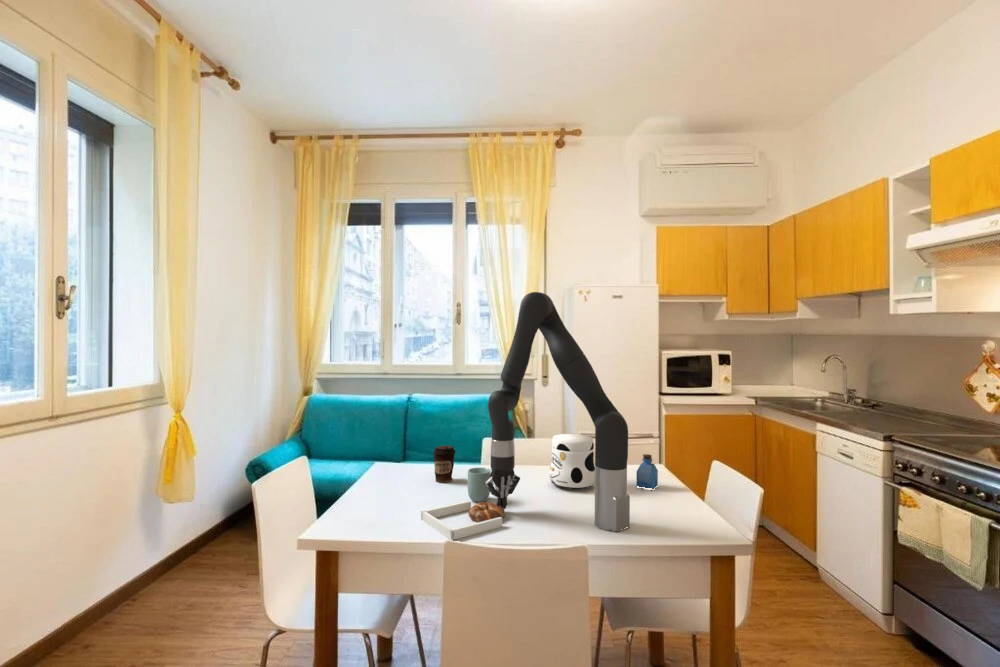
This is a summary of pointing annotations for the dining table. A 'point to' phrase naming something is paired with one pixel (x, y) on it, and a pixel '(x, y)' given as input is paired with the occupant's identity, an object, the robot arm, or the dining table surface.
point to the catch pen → (460, 532)
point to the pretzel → (485, 511)
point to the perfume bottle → (647, 473)
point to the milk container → (572, 461)
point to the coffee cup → (444, 463)
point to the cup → (478, 484)
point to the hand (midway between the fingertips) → (502, 508)
